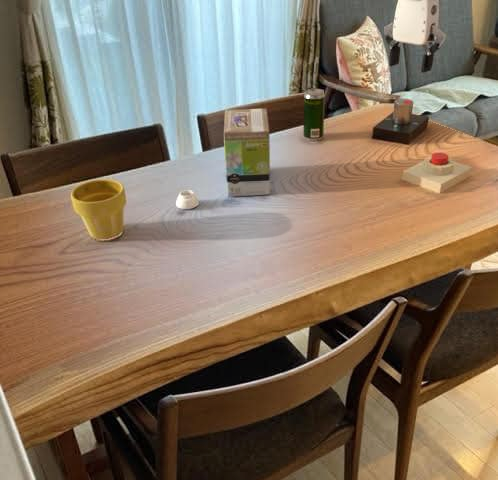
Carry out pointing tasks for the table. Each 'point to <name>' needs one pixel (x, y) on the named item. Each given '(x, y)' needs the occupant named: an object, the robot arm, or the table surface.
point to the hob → (400, 129)
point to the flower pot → (100, 207)
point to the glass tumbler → (402, 111)
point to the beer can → (314, 114)
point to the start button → (439, 159)
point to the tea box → (247, 152)
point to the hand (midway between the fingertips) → (409, 68)
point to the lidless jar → (187, 200)
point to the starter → (436, 174)
